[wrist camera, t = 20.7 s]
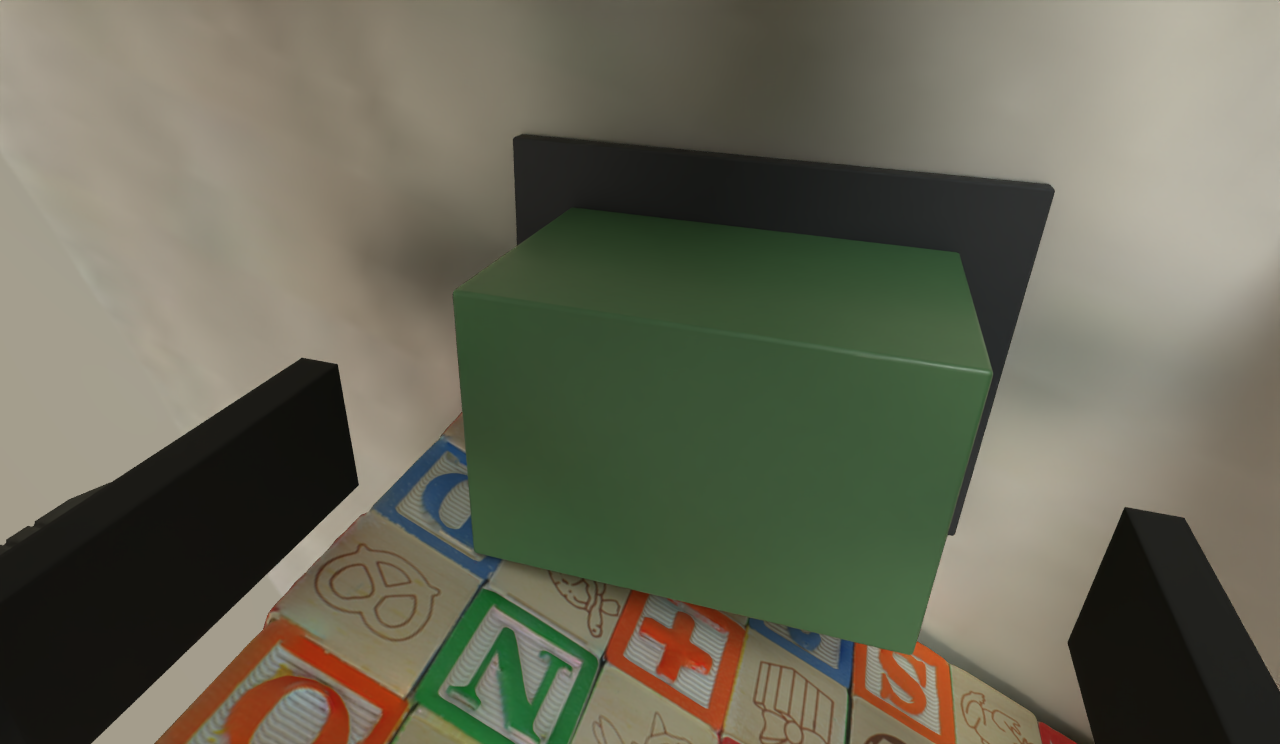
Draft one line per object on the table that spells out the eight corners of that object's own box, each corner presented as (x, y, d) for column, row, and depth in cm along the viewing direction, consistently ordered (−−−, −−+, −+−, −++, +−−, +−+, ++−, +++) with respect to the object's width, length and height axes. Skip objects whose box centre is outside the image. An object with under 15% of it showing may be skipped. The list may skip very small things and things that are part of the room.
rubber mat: (520, 133, 19) (511, 137, 18) (1051, 184, 16) (1056, 189, 15) (531, 442, 23) (524, 451, 22) (952, 525, 20) (954, 537, 20)
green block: (571, 205, 18) (450, 290, 13) (960, 251, 16) (995, 372, 11) (572, 416, 21) (472, 554, 16) (905, 478, 19) (913, 658, 14)
